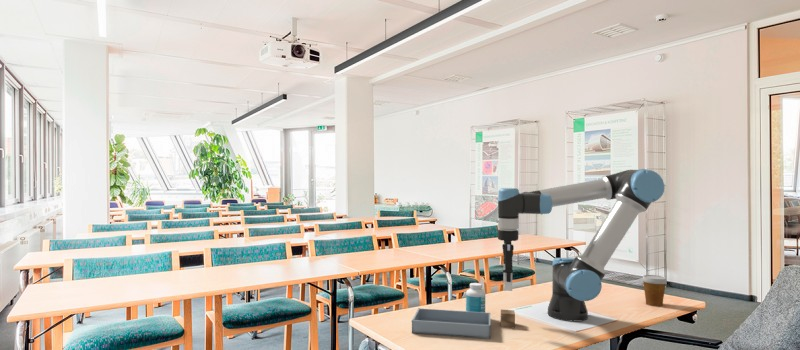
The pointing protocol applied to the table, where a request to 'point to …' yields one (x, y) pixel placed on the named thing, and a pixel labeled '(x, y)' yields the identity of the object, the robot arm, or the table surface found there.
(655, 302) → the disposable coffee cup
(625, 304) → the table surface
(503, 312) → the walnut cube
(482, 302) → the pill bottle
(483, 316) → the tote
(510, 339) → the table surface
